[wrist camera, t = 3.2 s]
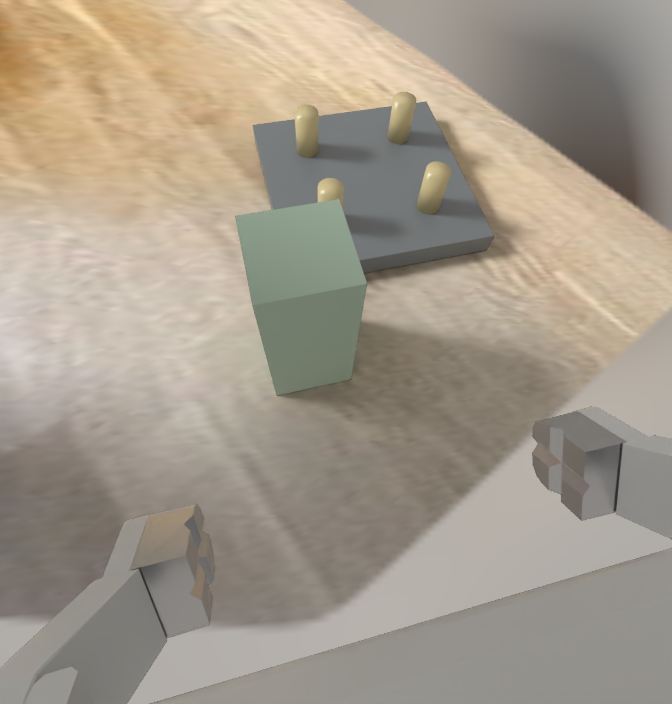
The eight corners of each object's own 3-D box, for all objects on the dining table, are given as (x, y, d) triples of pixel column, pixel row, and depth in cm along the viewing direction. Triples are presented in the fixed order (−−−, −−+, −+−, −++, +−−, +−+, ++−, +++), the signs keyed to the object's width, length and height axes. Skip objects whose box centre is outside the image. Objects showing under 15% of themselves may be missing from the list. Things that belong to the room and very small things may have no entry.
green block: (276, 395, 25) (252, 305, 16) (263, 329, 27) (235, 216, 18) (351, 379, 26) (367, 283, 17) (333, 315, 28) (339, 198, 19)
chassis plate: (290, 286, 29) (285, 241, 25) (255, 142, 34) (246, 86, 30) (486, 250, 31) (512, 202, 26) (422, 118, 36) (435, 63, 32)
